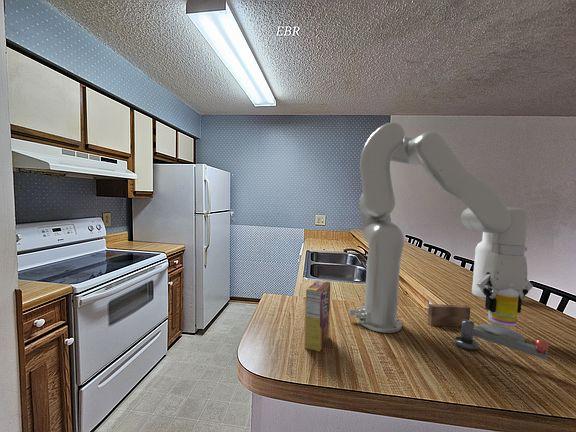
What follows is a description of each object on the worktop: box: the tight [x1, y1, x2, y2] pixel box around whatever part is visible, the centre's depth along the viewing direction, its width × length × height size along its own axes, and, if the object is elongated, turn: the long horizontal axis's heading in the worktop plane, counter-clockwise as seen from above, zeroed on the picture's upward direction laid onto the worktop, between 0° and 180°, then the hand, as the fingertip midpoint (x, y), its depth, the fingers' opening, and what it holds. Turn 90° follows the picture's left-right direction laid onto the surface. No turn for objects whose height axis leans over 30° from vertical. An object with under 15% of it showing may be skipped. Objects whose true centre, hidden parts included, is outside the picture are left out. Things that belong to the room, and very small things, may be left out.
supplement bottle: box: [487, 283, 519, 328], centre depth 80 cm, size 7×7×13 cm
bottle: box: [471, 232, 493, 299], centre depth 116 cm, size 8×8×30 cm
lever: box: [454, 319, 550, 360], centre depth 69 cm, size 18×5×7 cm, turn 43°
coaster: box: [477, 323, 526, 343], centre depth 81 cm, size 11×11×1 cm
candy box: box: [304, 280, 331, 352], centre depth 72 cm, size 9×4×15 cm, turn 156°
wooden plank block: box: [427, 303, 471, 327], centre depth 86 cm, size 12×2×6 cm, turn 92°
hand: (502, 310), depth 81 cm, fingers closed on supplement bottle, 6 cm apart
